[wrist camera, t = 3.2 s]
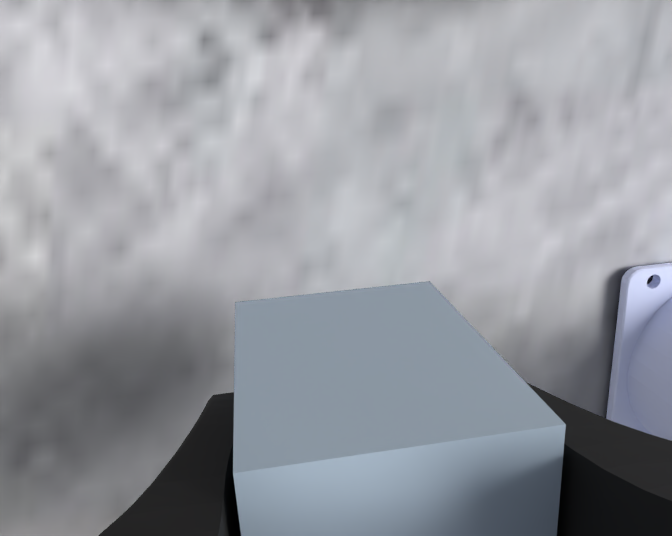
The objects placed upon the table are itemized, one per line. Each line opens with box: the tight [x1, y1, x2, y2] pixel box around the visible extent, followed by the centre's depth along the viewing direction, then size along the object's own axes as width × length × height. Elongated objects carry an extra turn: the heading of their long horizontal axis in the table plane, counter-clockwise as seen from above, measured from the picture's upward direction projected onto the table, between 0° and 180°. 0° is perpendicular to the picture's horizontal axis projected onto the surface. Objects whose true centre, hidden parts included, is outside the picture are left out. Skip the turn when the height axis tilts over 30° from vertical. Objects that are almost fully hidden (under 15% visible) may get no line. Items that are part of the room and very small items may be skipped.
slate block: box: [233, 281, 566, 536], centre depth 11 cm, size 4×4×6 cm
